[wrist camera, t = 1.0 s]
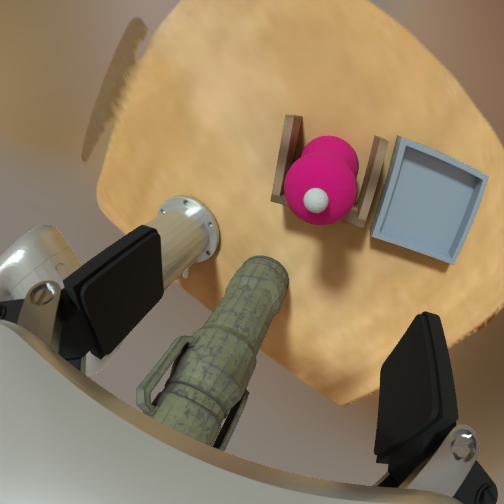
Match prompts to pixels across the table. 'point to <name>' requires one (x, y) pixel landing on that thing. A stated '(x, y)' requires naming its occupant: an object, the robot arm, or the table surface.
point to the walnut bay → (287, 159)
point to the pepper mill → (323, 181)
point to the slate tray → (427, 201)
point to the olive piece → (217, 358)
